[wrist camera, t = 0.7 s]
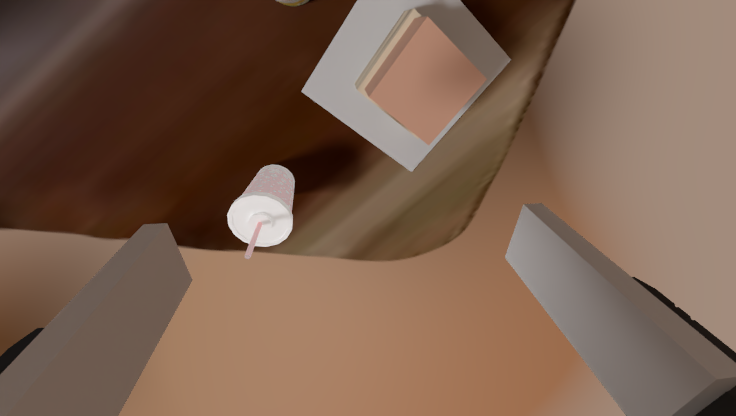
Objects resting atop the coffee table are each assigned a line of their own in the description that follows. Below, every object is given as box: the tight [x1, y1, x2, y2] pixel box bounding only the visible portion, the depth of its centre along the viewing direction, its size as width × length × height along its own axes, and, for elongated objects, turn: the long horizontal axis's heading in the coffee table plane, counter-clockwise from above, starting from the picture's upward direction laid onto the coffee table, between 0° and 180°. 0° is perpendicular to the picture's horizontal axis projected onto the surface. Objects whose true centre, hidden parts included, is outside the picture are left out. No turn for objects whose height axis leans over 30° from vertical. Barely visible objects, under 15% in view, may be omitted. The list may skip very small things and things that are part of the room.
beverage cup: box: [227, 164, 295, 259], centre depth 30 cm, size 6×6×14 cm
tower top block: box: [365, 16, 487, 145], centre depth 25 cm, size 7×7×4 cm
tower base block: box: [354, 8, 422, 139], centre depth 29 cm, size 8×8×4 cm
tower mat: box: [301, 0, 511, 172], centre depth 30 cm, size 16×16×1 cm
